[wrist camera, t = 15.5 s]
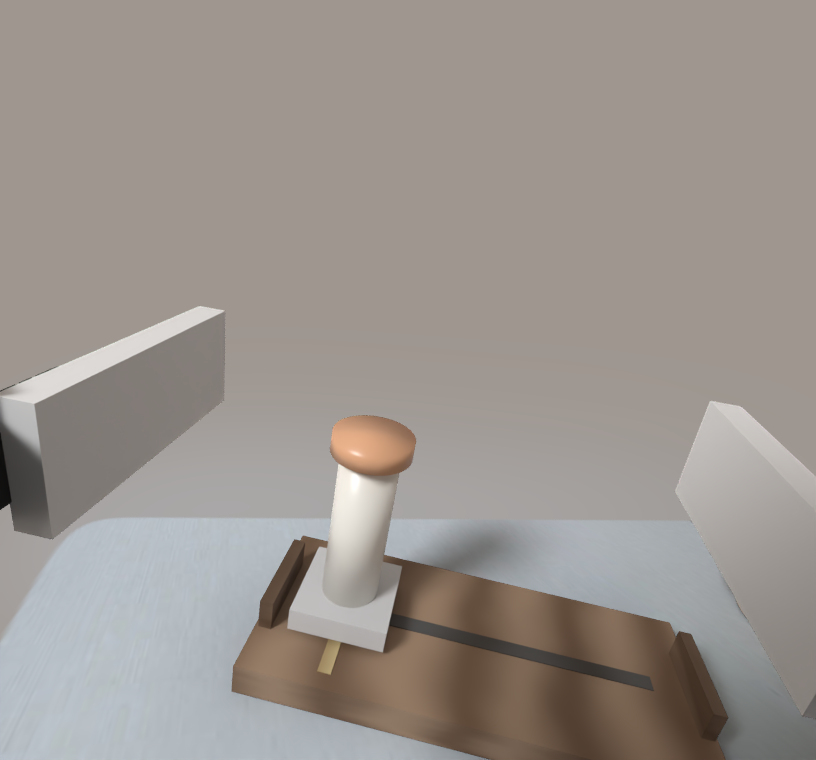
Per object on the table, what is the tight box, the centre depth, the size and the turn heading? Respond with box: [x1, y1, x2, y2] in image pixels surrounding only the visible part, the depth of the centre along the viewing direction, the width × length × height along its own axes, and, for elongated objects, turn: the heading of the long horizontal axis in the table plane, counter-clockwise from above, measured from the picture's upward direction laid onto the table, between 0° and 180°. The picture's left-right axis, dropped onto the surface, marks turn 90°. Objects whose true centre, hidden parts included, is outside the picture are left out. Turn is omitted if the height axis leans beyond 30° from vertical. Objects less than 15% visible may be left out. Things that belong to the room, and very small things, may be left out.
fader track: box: [232, 536, 728, 760], centre depth 35 cm, size 28×12×4 cm, turn 82°
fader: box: [287, 415, 416, 652], centre depth 33 cm, size 6×6×13 cm
